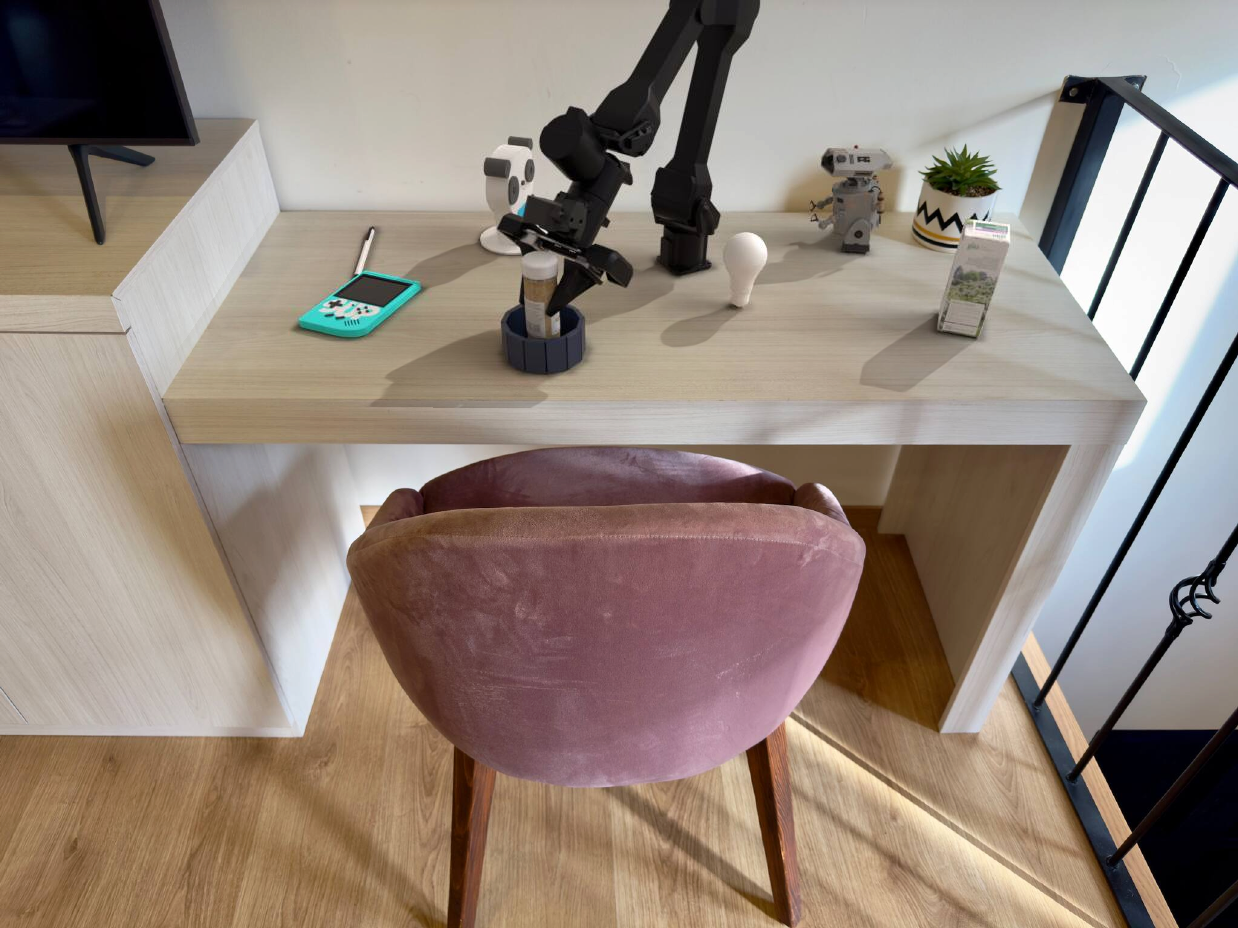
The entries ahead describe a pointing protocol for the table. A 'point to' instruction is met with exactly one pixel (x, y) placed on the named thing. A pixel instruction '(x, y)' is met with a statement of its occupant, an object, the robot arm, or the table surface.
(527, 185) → the panda figurine
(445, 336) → the table surface
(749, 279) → the lightbulb
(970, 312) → the syrup box
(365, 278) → the handheld game console
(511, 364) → the pot
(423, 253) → the table surface
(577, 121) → the robot arm
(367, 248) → the pen
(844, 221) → the figurine
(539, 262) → the sprinkles bottle
